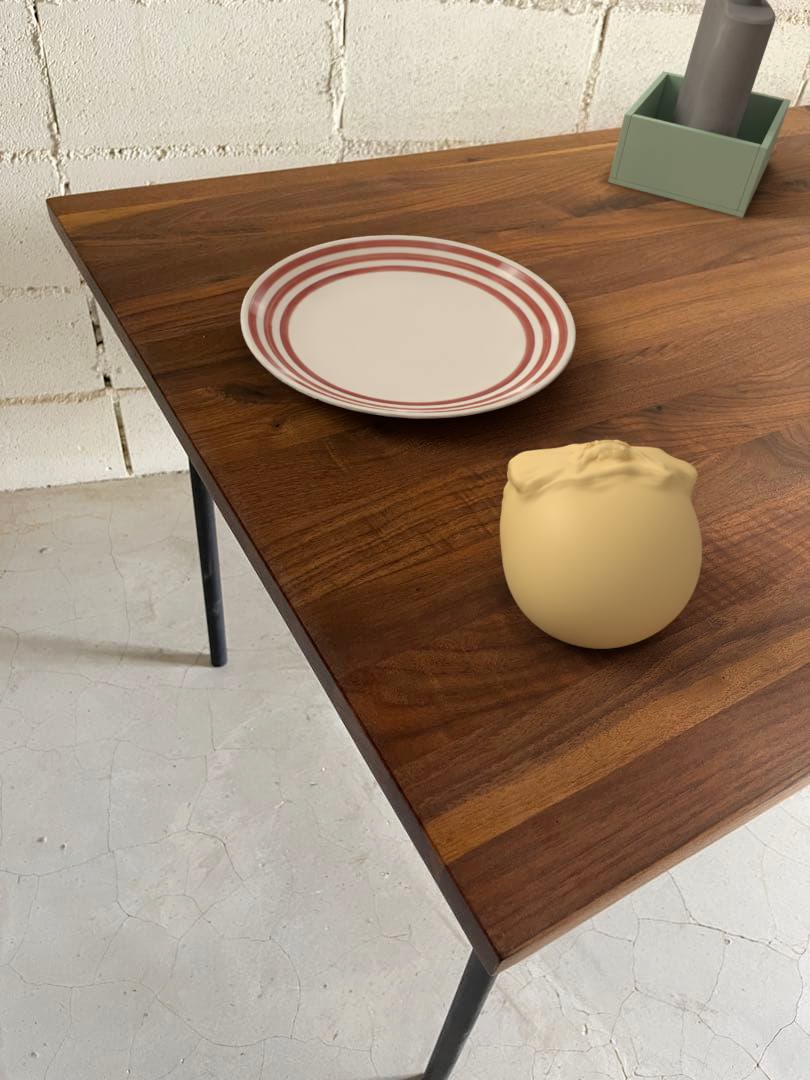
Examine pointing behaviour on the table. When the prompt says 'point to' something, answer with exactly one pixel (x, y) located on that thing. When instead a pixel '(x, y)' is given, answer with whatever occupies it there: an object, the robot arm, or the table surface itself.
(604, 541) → the sculpture
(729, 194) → the basin
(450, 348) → the dinner plate
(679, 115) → the flask
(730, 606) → the table surface
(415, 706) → the table surface
